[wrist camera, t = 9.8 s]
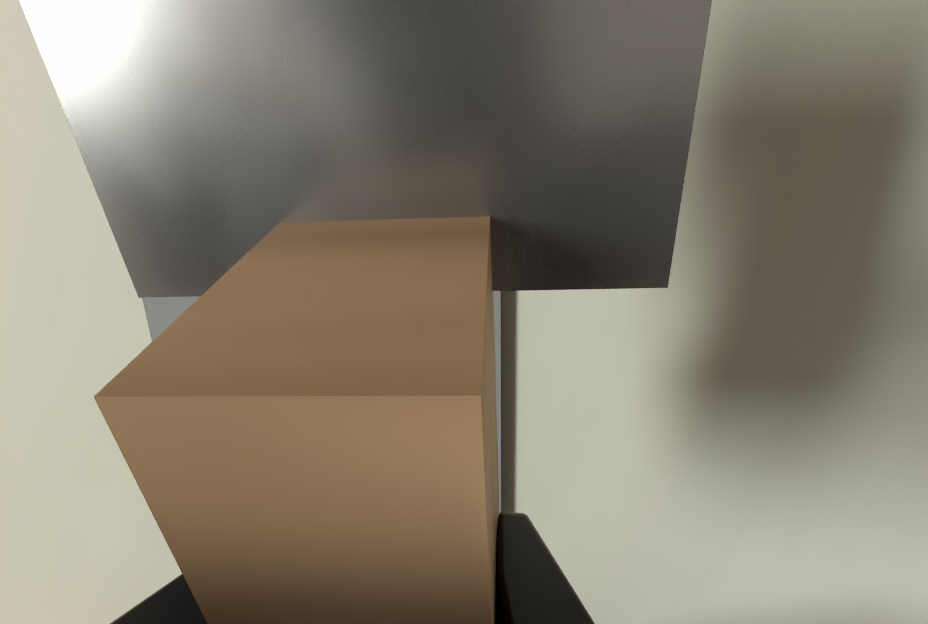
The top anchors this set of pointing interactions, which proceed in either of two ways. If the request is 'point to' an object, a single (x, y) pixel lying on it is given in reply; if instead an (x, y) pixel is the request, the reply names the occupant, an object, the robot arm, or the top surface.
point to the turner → (358, 262)
